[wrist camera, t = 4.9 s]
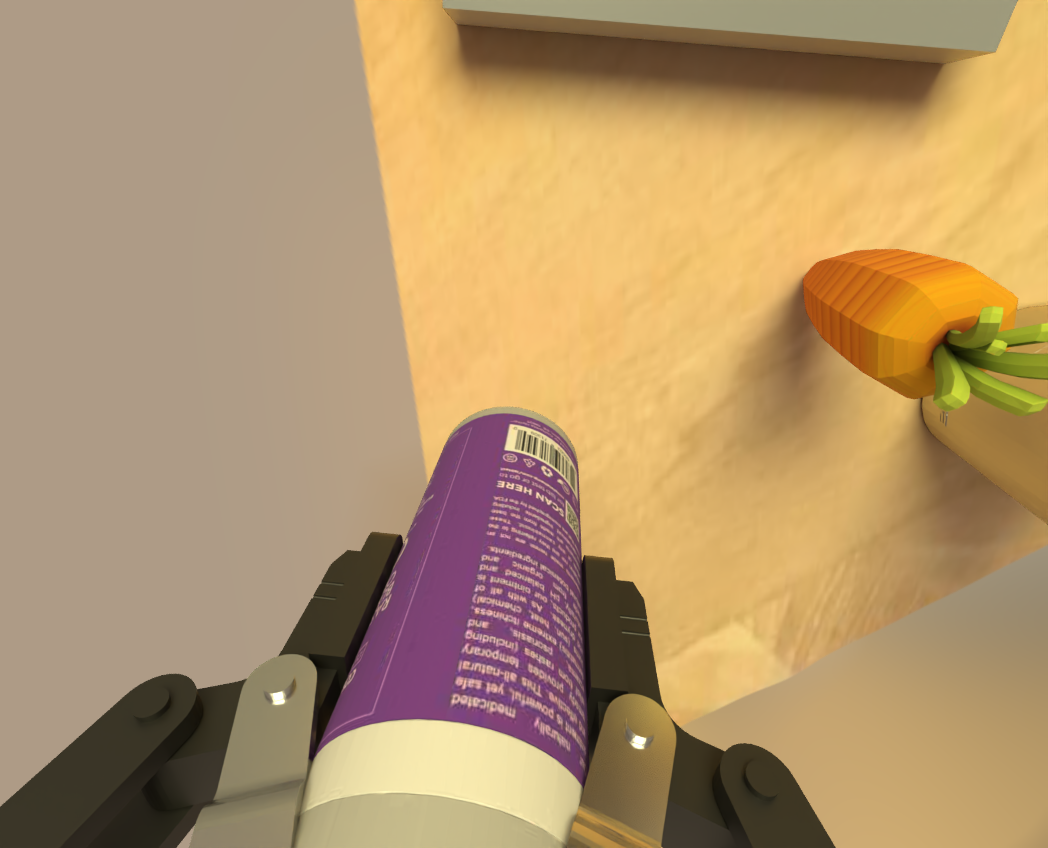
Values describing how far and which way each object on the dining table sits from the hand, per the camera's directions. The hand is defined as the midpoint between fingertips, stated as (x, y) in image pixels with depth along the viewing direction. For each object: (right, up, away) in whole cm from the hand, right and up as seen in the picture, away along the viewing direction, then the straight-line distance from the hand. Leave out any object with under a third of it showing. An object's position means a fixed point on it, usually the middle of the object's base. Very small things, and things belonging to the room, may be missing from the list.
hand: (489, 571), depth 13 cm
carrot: (+17, +12, +14) cm, 25 cm away
